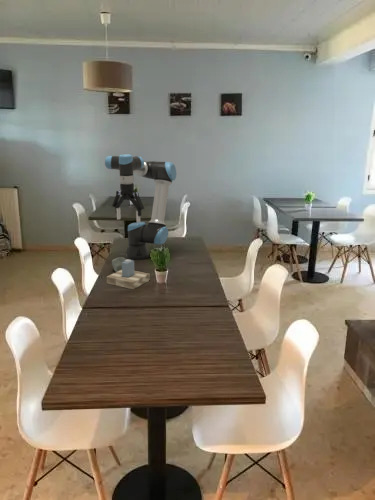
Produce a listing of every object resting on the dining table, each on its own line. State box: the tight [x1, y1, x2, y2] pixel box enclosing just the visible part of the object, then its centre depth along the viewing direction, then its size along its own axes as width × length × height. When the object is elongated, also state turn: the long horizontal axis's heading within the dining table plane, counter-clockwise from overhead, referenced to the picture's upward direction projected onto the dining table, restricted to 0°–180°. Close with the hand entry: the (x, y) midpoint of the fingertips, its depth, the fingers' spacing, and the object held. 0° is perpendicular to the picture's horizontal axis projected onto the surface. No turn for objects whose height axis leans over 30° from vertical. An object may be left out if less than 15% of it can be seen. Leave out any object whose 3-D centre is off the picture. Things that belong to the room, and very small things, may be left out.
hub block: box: [106, 270, 151, 290], centre depth 234 cm, size 16×18×4 cm
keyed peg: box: [122, 258, 135, 278], centre depth 233 cm, size 4×6×13 cm, turn 151°
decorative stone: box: [111, 256, 127, 273], centre depth 252 cm, size 13×11×10 cm
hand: (128, 220), depth 238 cm, fingers open, 13 cm apart
